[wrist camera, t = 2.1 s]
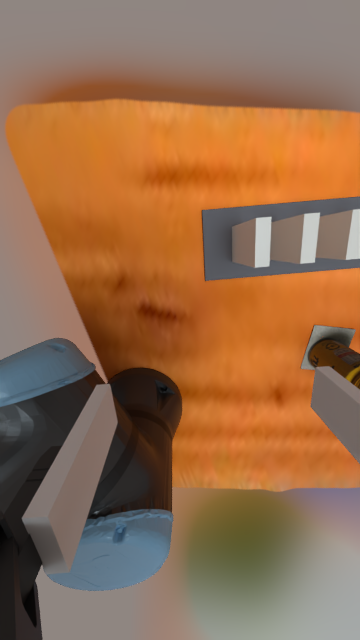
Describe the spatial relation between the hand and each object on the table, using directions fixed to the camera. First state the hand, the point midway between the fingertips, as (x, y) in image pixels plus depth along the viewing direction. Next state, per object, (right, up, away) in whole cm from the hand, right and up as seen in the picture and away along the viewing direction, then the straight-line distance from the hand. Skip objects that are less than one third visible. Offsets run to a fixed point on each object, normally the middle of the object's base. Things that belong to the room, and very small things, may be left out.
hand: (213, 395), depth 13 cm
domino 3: (+17, +17, +20) cm, 31 cm away
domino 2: (+12, +16, +20) cm, 28 cm away
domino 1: (+7, +16, +20) cm, 26 cm away
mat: (+18, +17, +20) cm, 32 cm away
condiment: (+24, -1, +27) cm, 36 cm away
